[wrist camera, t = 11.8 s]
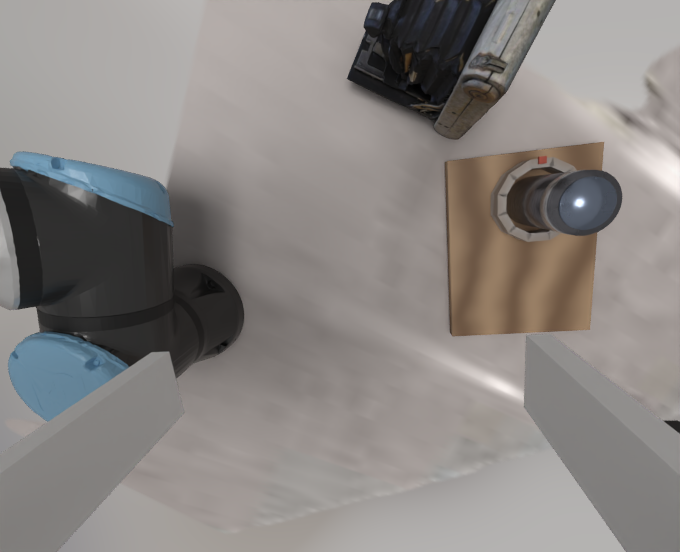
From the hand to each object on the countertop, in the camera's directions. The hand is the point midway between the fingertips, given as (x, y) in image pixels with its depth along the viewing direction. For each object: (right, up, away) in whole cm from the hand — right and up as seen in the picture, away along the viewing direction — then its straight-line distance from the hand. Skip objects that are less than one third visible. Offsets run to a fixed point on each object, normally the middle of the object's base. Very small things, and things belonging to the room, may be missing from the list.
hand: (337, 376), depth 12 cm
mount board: (+24, +8, +31) cm, 40 cm away
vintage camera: (+10, +28, +28) cm, 41 cm away
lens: (+24, +13, +28) cm, 39 cm away
